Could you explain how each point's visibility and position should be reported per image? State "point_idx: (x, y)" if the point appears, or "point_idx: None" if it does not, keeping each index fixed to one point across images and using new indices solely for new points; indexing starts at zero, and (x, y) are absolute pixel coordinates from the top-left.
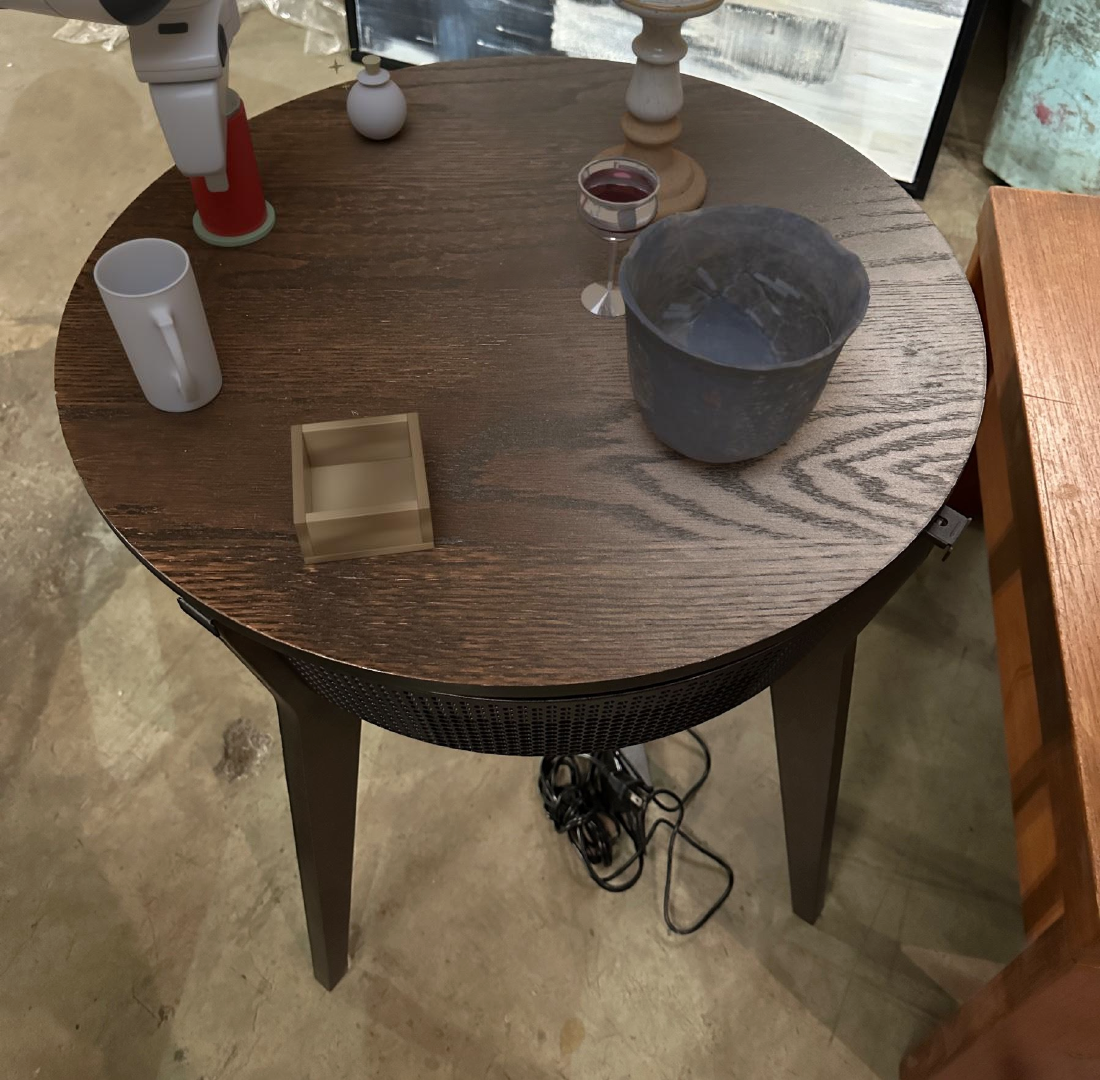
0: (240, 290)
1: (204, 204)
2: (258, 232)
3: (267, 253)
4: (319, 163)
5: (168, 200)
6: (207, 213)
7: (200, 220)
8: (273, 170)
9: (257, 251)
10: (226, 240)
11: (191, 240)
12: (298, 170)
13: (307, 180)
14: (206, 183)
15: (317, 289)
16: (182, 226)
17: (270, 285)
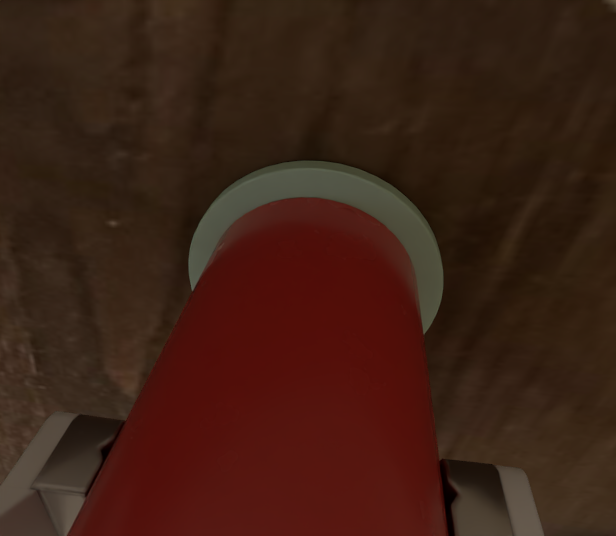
0: (8, 259)
1: (194, 294)
2: None
3: (164, 330)
4: (528, 470)
5: (522, 67)
6: (204, 272)
7: (311, 194)
8: (549, 388)
9: (173, 312)
10: (193, 259)
11: (239, 146)
12: (518, 433)
13: (462, 441)
14: (33, 439)
15: (39, 395)
16: (327, 118)
17: (39, 321)
